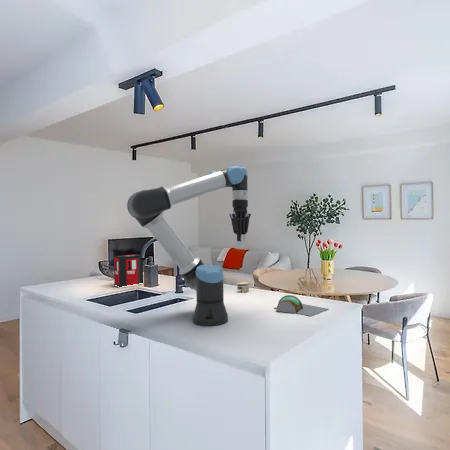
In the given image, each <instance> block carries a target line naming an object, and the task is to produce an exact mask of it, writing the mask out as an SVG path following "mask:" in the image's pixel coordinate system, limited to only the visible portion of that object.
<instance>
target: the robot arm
mask: <svg viewBox="0 0 450 450" xmlns="http://www.w3.org/2000/svg"><path fill="white" fill-rule="evenodd" d="M248 178H249V176H248V169H247V168H246V167H244V166H237V165H236V166H234V165H233V166H230V167H228V168H227V167H226V168H225V169H221V170H210V171H209V173H208V174H206V175H203V176H200V177H196V178H193V179H189V180H187V181H184V182H181V183H177V184H175V185H171V186H167V187H165V186H163V185H162V186H159V187H156V188H151V189H143V190H140V191H136V192H134V193H133V194H132V195H130V197H129V198H128V199H127V203H126V207H127V211H128V214H129V215H130V216H131V217H133V218H134V219H135V220H136V221H137V222H138V224H139V225H140V226H141V227H142V228H147V229H148V230H149V232H150V233H151V235H152V236H154V238H155V239H156V240H157V242H158V243H159V245H161V247H162V248H163V249H164V251H165V252H166V253H167V254H168V256H169V257H170V258H171V260H172V261H173V262H174V263H175V265H176V266H177V267H178V268H179V275H180V276H181V277H182V279H183V281H184V284H186V286H187V287H188V288H190V289H191V290H194V291H195V292H196V304H195V307H194V312H193V314H192V322H193V323H194V324H196V325H197V326H198V325H200V326H205V327H206V326H207V327H210V326H219V325H223V324H225V323H227V322H228V321H229V315H228V312H227V309H226V305H225V302H224V277H225V276H224V271H223V268H222V267H221V266H219V265H215V264H205V263H204V261H203V260H202V259H201V258H200V257H197V256H195V255H194V254H193V253H192V251H191V250H190V249H189V247H188V246H187V245H186V244H185V243H184V241H183V240H182V238H180V236H179V235H178V233H176V231H175V230H174V228H173V227H172V225H171V224H170V223H169V222H168V220H167V219H166V218H165V216H164V212H165V211H167V210H168V211H169V210H170V209H172V207H173V206H175V205H178V204H180V203H183V202H186V201H189V200H192V199H195V198H198V197H200V196H203V195H207V194H209V193H212V192H215V191H218V190H221V189H224V188H231V192H232V193H231V195H232V196H231V197H232V198H231V199H233V200H232V208H233V210H232V212H231V213H229V215H228V216H229V217H230V219H231V226H232V231H233V233H234V234H235V235H236V241H237V248H238V249H244V248H245V235H247V233H248V231H249V225H250V218H251V213H249V212H248V209H247V208H248V207H249V202H248V196H249V195H248Z"/></svg>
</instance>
